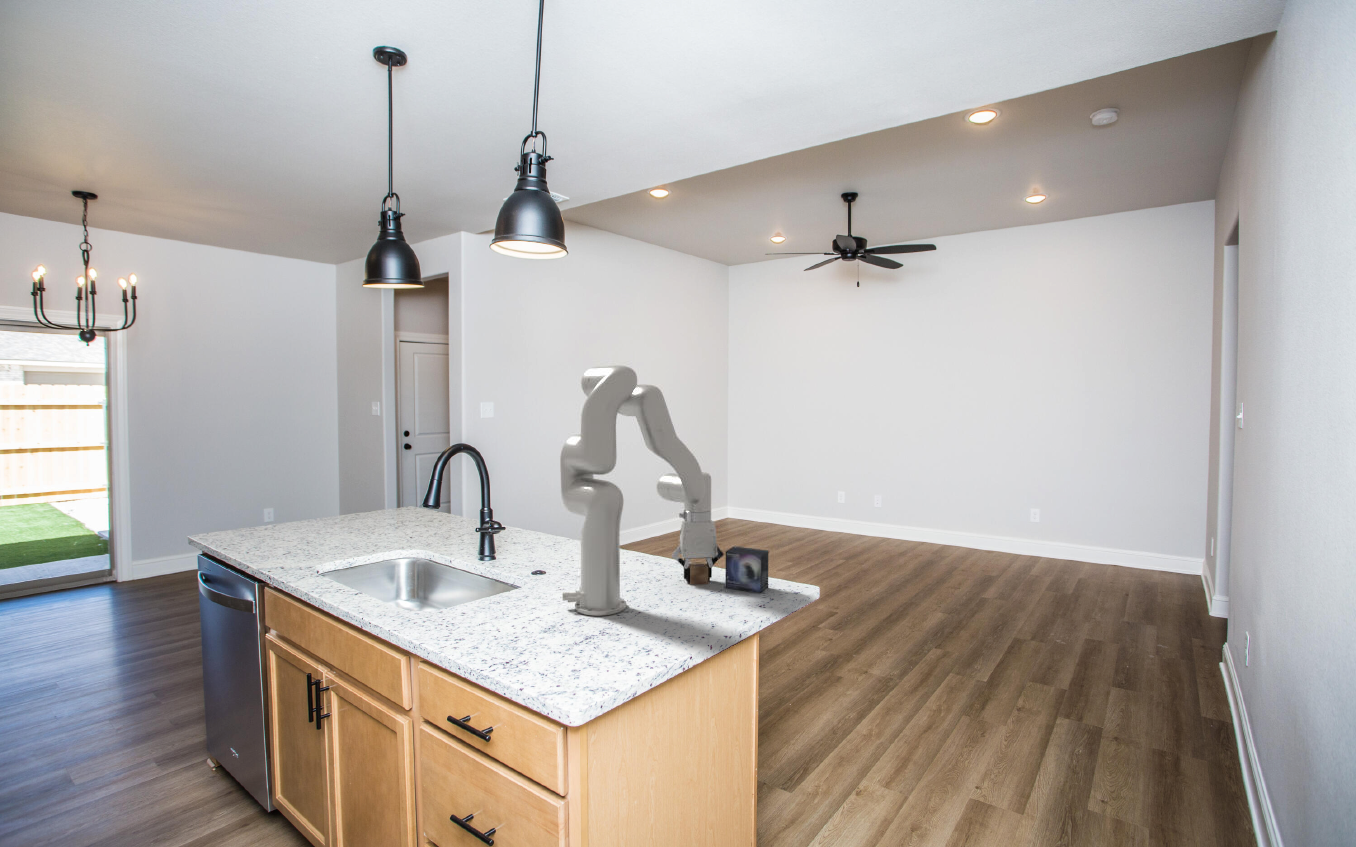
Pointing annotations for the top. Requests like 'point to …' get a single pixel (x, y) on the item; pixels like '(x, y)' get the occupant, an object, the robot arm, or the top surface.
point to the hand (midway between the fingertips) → (697, 580)
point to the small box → (747, 569)
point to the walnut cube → (698, 573)
